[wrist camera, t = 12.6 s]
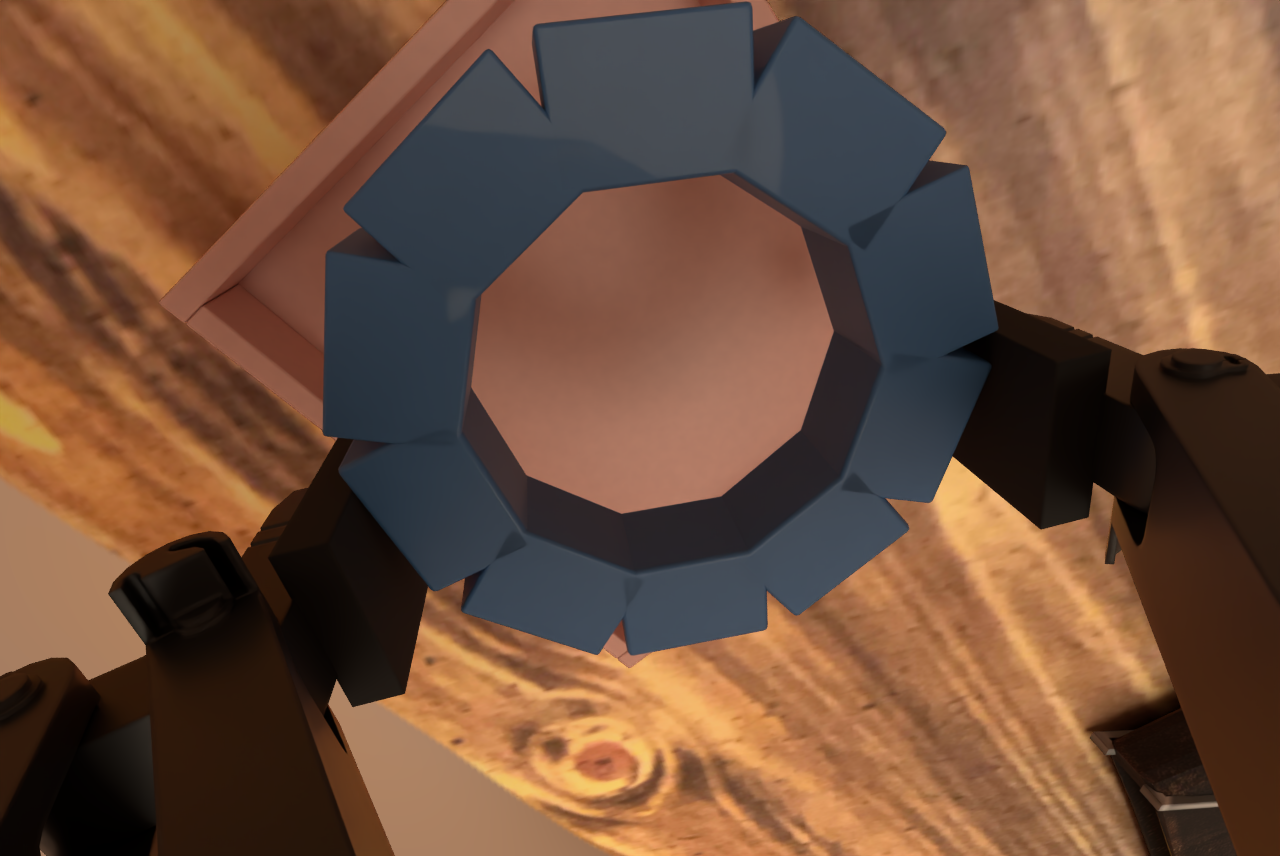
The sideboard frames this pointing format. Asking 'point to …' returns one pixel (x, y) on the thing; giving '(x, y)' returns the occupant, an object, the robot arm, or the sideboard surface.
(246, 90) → the sideboard surface
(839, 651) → the sideboard surface
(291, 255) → the tray
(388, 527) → the ring
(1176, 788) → the book
